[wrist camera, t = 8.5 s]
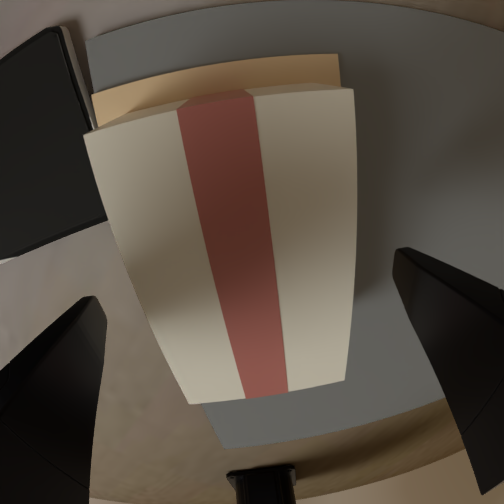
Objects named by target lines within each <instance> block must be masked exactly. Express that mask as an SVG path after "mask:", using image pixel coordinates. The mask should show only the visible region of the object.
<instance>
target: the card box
mask: <svg viewBox="0 0 504 504" xmlns="http://www.w3.org/2000/svg"><path fill="white" fill-rule="evenodd" d="M83 137H84V141H85V144H86V148H87V152H88V155H89V159H90V163H91V166H92V170H93V173H94V176H95V180H96V183H97V186H98V190H99V193H100V196H101V199H102V202H103V205H104V208H105V211H106V214H107V217H108V220H109V223H110V226H111V229H112V232H113V235H114V237H115V240H116V243H117V246H118V248H119V251H120V254H121V256H122V259H123V262H124V264H125V267H126V269H127V272H128V274H129V277H130V279H131V282H132V284H133V287H134V289H135V292H136V294H137V296H138V299H139V301H140V304H141V306H142V308H143V310H144V313H145V315H146V317H147V320H148V322H149V324H150V326H151V328H152V331H153V333H154V335H155V337H156V339H157V341H158V344H159V346H160V348H161V350H162V352H163V354H164V356H165V358H166V360H167V362H168V364H169V366H170V368H171V370H172V372H173V374H174V376H175V378H176V380H177V382H178V384H179V386H180V388H181V390H182V392H183V393H184V395H185V397H186V399H187V401H188V403H189V404H199V403H210V402H219V401H228V400H237V399H245V398H246V399H250V398H257V397H264V396H270V395H276V394H282V393H288V392H290V391H295V390H301V389H306V388H311V387H316V386H321V385H326V384H330V383H335V382H339V381H344V380H345V373H346V365H347V357H348V348H349V339H350V329H351V318H352V307H353V294H354V279H355V262H356V238H357V146H356V122H355V105H354V91H353V89H350V88H344V87H339V86H332V85H326V84H319V83H299V84H287V85H277V86H267V87H259V88H251V89H239V90H232V91H226V92H220V93H214V94H208V95H203V96H197V97H192V98H190V99H185V100H181V101H176V102H171V103H167V104H162V105H158V106H154V107H150V108H146V109H142V110H138V111H134V112H131V113H127V114H124V115H122V116H120V117H118V118H116V119H114V120H112V121H110V122H108V123H106V124H104V125H102V126H100V127H98V128H96V129H94V130H92V131H90V132H88V133H86V134H84V135H83Z"/></svg>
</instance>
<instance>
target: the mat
mask: <svg viewBox="0 0 504 504" xmlns="http://www.w3.org/2000/svg"><path fill="white" fill-rule="evenodd" d="M85 45H86V51H87V57H88V63H89V69H90V74H91V79H92V85H93V90H94V94H92V95H91V97H92V101H93V106H94V111H95V115H96V119H97V124H98V127H100V126H102V125H104V124H106V123H108V122H110V121H112V120H114V119H116V118H118V117H120V116H122V115H124V114H127V113H131V112H134V111H138V110H142V109H146V108H150V107H154V106H158V105H162V104H167V103H171V102H176V101H181V100H185V99H190V98H192V97H197V96H203V95H208V94H214V93H220V92H226V91H232V90H239V89H251V88H259V87H267V86H277V85H287V84H299V83H319V84H326V85H332V86H339V87H344V88H350V89H353V91H354V105H355V122H356V146H357V238H356V262H355V279H354V294H353V307H352V318H351V329H350V339H349V348H348V357H347V365H346V373H345V380H344V381H339V382H335V383H330V384H326V385H321V386H316V387H311V388H306V389H301V390H295V391H290V392H288V393H282V394H276V395H270V396H264V397H257V398H250V399H246V398H245V399H237V400H228V401H219V402H210V403H201V405H202V407H203V409H204V411H205V413H206V415H207V417H208V419H209V421H210V423H211V425H212V427H213V429H214V431H215V432H216V434H217V436H218V438H219V440H220V442H221V444H222V446H223V448H224V449H231V448H241V447H250V446H258V445H265V444H272V443H279V442H285V441H291V440H297V439H302V438H307V437H312V436H317V435H322V434H327V433H331V432H335V431H340V430H344V429H348V428H352V427H356V426H360V425H363V424H367V423H371V422H374V421H378V420H381V419H384V418H388V417H391V416H394V415H397V414H400V413H403V412H406V411H409V410H412V409H415V408H418V407H421V406H424V405H426V404H429V403H432V402H434V401H437V400H439V399H442V398H445V395H444V392H443V390H442V388H441V386H440V383H439V381H438V379H437V377H436V374H435V372H434V370H433V368H432V366H431V363H430V361H429V359H428V357H427V355H426V353H425V351H424V349H423V347H422V345H421V342H420V340H419V338H418V336H417V334H416V332H415V330H414V328H413V326H412V324H411V322H410V320H409V318H408V316H407V313H406V311H405V308H404V305H403V303H402V300H401V298H400V295H399V293H398V290H397V288H396V285H395V283H394V280H393V277H392V268H393V260H394V253H395V250H396V249H397V248H402V247H410V248H413V249H415V250H417V251H420V252H422V253H424V254H427V255H429V256H431V257H434V258H436V259H438V260H440V261H443V262H445V263H447V264H449V265H451V266H454V267H456V268H458V269H460V270H462V271H465V272H467V273H469V274H471V275H473V276H475V277H477V278H480V279H482V280H484V281H486V282H488V283H490V284H492V285H494V286H496V287H498V288H499V289H503V290H504V32H502V31H499V30H496V29H493V28H490V27H487V26H484V25H481V24H478V23H474V22H471V21H467V20H463V19H460V18H456V17H452V16H447V15H443V14H439V13H434V12H429V11H424V10H419V9H413V8H407V7H400V6H393V5H386V4H377V3H367V2H355V1H338V0H283V1H265V2H253V3H243V4H234V5H226V6H219V7H212V8H206V9H200V10H195V11H189V12H184V13H179V14H175V15H170V16H166V17H162V18H157V19H153V20H149V21H146V22H142V23H138V24H135V25H131V26H128V27H125V28H121V29H118V30H115V31H112V32H109V33H106V34H103V35H100V36H97V37H95V38H92V39H89V40H86V41H85Z"/></svg>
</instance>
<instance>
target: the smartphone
mask: <svg viewBox="0 0 504 504" xmlns="http://www.w3.org/2000/svg"><path fill="white" fill-rule="evenodd" d="M62 31H63V32H62ZM96 128H98V124H97V119H96V115H95V111H94V108H93V105H92V102H91V99H90V96H89V93H88V91H87V88H86V85H85V82H84V79H83V76H82V72H81V69H80V66H79V63H78V60H77V57H76V53H75V50H74V47H73V43H72V40H71V36H70V33H69V30H68V29H67V27H63V26H54V27H48V28H45V29H44V30H42V31H41V32H39V33H38V34H36V35H34V36H33V37H31V38H30V39H28V40H27V41H25V42H24V43H23V44H21V45H20V46H18V47H17V48H15V49H14V50H13V51H11V52H10V53H9V54H7V55H6V56H5V57H3V58H2V59H1V60H0V264H2V263H4V262H7V261H9V260H11V259H13V258H16V257H18V256H20V255H23V254H25V253H27V252H29V251H32V250H34V249H36V248H39V247H41V246H44V245H46V244H48V243H51V242H53V241H56V240H58V239H61V238H63V237H66V236H68V235H71V234H73V233H76V232H78V231H81V230H84V229H86V228H89V227H91V226H94V225H97V224H99V223H102V222H105V221H107V220H108V217H107V214H106V211H105V208H104V205H103V202H102V199H101V196H100V193H99V190H98V186H97V183H96V180H95V176H94V173H93V170H92V166H91V163H90V159H89V155H88V152H87V148H86V144H85V141H84V137H83V135H84V134H86V133H88V132H90V131H92V130H94V129H96Z"/></svg>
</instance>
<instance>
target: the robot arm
mask: <svg viewBox="0 0 504 504" xmlns="http://www.w3.org/2000/svg"><path fill="white" fill-rule="evenodd" d="M392 277H393V280H394V283H395V285H396V288H397V290H398V293H399V295H400V298H401V300H402V303H403V305H404V308H405V311H406V313H407V316H408V318H409V320H410V322H411V324H412V326H413V328H414V330H415V332H416V334H417V336H418V338H419V340H420V342H421V345H422V347H423V349H424V351H425V353H426V355H427V357H428V359H429V361H430V363H431V366H432V368H433V370H434V372H435V374H436V377H437V379H438V381H439V383H440V386H441V388H442V390H443V392H444V395H445V397H446V399H447V402H448V404H449V407H450V409H451V412H452V414H453V416H454V419H455V421H456V424H457V427H458V429H459V432H460V434H461V435H462V436H461V437H462V440H463V443H464V446H465V448H466V451H467V454H468V456H469V459H470V462H471V465H472V468H473V471H474V474H475V477H476V480H477V483H478V486H479V490H480V493H481V495H484V494H486V493H487V492H489V491H491V490H492V489H494V488H496V487H497V486H499V485H500V484H502V483H503V482H504V290H503V289H499V288H498V287H496V286H494V285H492V284H490V283H488V282H486V281H484V280H482V279H480V278H477V277H475V276H473V275H471V274H469V273H467V272H465V271H462V270H460V269H458V268H456V267H454V266H451V265H449V264H447V263H445V262H443V261H440V260H438V259H436V258H434V257H431V256H429V255H427V254H424V253H422V252H420V251H417V250H415V249H413V248H410V247H402V248H397V249H396V250H395V253H394V260H393V268H392ZM106 330H107V318H106V315H105V313H104V311H103V309H102V307H101V305H100V303H99V301H98V299H97V298H96V297H95V296H86V297H82V298H81V299H80V300H79V301H77V302H76V303H75V304H74V305H73V306H72V307H70V308H69V309H68V310H67V311H66V312H65V313H63V314H62V315H61V316H60V317H59V318H58V319H56V320H55V321H54V322H53V323H52V324H51V325H50V326H48V327H47V328H46V329H45V330H44V331H43V332H42V333H41V334H39V335H38V336H37V337H36V338H35V339H34V340H33V341H32V342H31V343H29V344H28V345H27V346H26V347H25V348H24V349H23V350H22V351H21V352H20V353H19V354H18V355H16V356H15V357H14V358H13V359H12V360H11V361H10V363H8V364H7V365H6V366H5V367H4V368H3V369H2V370H0V504H89V486H90V470H91V457H92V446H93V436H94V427H95V419H96V411H97V404H98V397H99V390H100V384H101V378H102V372H103V365H104V354H105V341H106ZM226 476H227V480H228V481H229V482H230V484H231V485H232V487H233V488H234V489H235V491H236V499H237V504H296V501H295V495H294V489H293V486H295V485H296V476H295V466H293V465H290V466H283V467H277V468H270V469H262V470H254V471H245V472H234V473H227V474H226Z"/></svg>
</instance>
